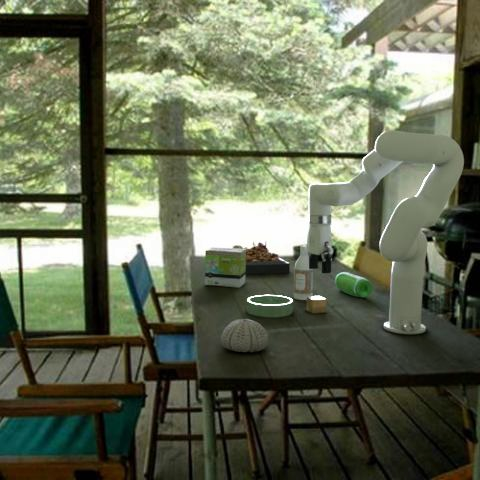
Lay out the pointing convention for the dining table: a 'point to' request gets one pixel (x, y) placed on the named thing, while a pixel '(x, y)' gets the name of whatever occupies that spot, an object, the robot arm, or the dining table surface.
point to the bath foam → (303, 276)
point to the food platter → (263, 261)
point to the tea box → (225, 267)
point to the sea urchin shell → (244, 336)
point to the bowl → (270, 306)
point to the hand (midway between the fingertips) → (319, 270)
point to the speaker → (353, 284)
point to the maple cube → (316, 304)
